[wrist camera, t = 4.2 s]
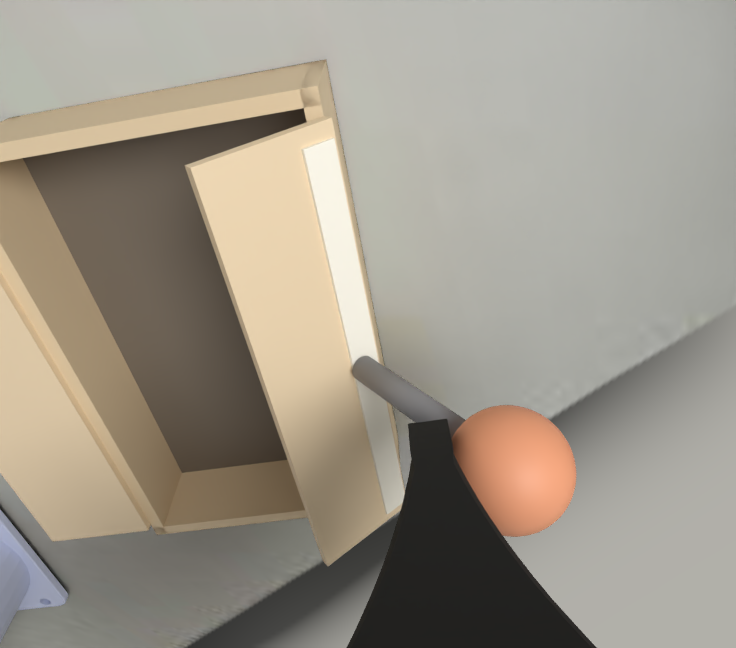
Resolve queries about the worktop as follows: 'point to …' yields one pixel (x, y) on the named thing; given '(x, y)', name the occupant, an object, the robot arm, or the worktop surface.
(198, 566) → the worktop surface
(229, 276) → the flap
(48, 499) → the carton
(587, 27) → the worktop surface
